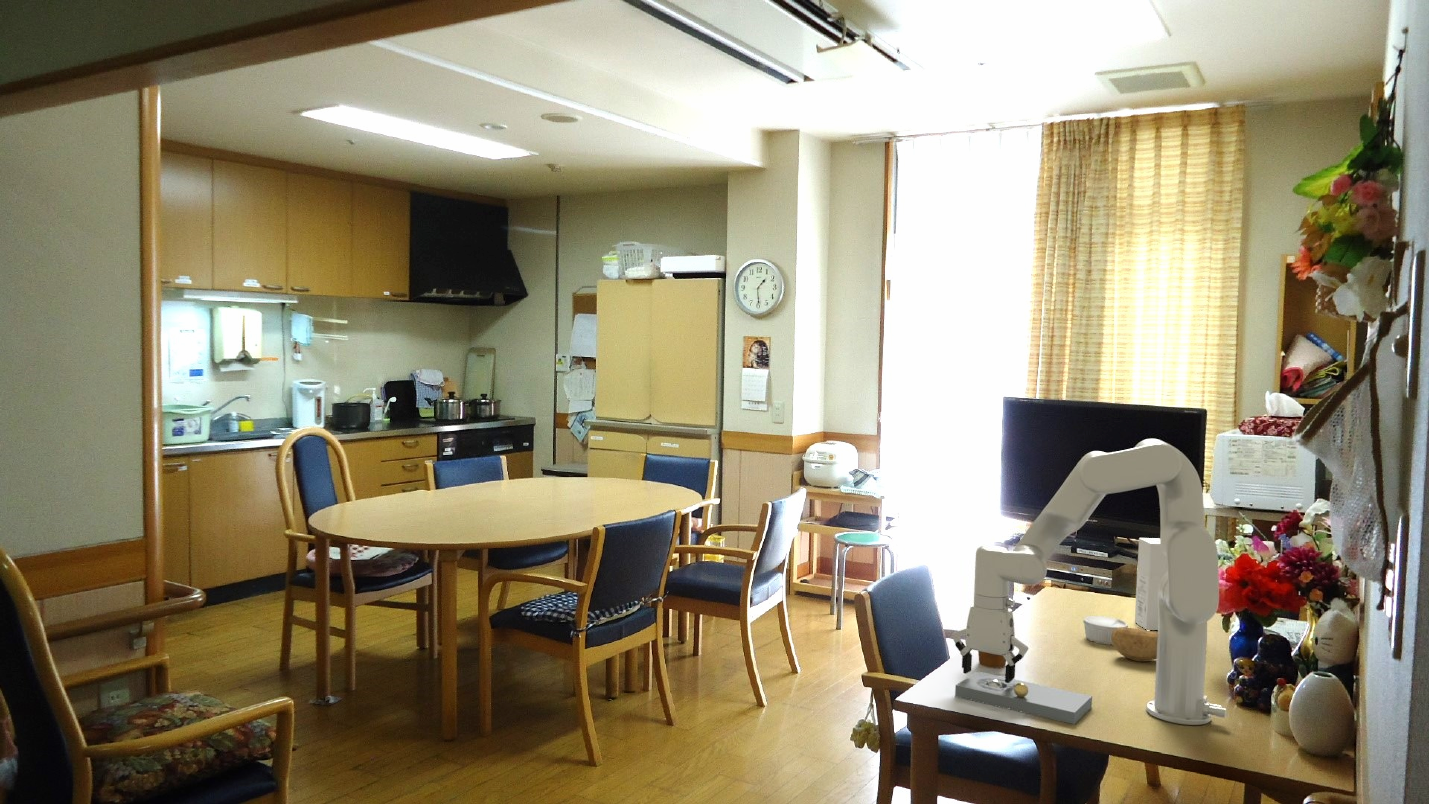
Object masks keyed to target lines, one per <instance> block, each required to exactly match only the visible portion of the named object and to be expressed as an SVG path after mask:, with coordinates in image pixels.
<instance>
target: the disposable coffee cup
mask: <svg viewBox="0 0 1429 804" xmlns="http://www.w3.org/2000/svg"><path fill="white" fill-rule="evenodd" d="M977 653H978V654H977V655H978V663H979V665H981V666H983V667H986V668H990V669H991V668H992V669H1002V668H1006V665H1007V664H1006V663H1007V661H1006V660H1005V658H1004V657H1003V655H996V654H991V653H986V652H982V651H977Z"/></svg>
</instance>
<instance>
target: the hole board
mask: <svg viewBox="0 0 1429 804" xmlns="http://www.w3.org/2000/svg"><path fill="white" fill-rule="evenodd" d="M993 679H995V680H998V681H1000V682H1001V683H1002V686H1003V688H994V687H990V686H988V685H987V684H988V682H989V681H990V680H993ZM1018 683H1023V684H1025V685H1026V686H1027V687H1028V694H1027V695H1026V696H1025V697H1018V696H1017V695H1016V694H1015V693H1014V687H1015V685H1016V684H1018ZM954 688H955V690H954V696H955V697H956V698H960V697H961V698H960V699H964V700H965V699H966V700H969V699H972V700H971V701H973V700H975V701H974V702H977V701H979V702H978V703H981V702H984V703H983V704H986V703H987V704H986V705H990V704H991V705H990V706H994V705H997V706H996V707H998V706H1000V708H1003V707H1004V708H1003V709H1007V708H1010V709H1009V710H1011V709H1013V711H1015V710H1016V711H1017V712H1020V711H1022V712H1021V713H1024V712H1025V714H1028V715H1032V714H1034V715H1033V716H1037V715H1038V716H1037V717H1041V716H1042V717H1041V718H1046V719H1050V720H1054V719H1055V720H1054V721H1059V722H1062V723H1067V724H1071V725H1076V723H1077V722H1078V721H1079V720H1081V719H1082V718H1083V717H1084V716H1085V714H1087V712H1089V711H1090V710H1091V709H1092V706H1093V705H1092V704H1093V695H1089V694H1085V693H1079V692H1074V691H1070V690H1066V689H1060V688H1056V687H1052V686H1047V685H1043V684H1038V683H1034V682H1028V681H1025V680H1024V681H1023V680H1020V679H1015V678H1014V679H1013V680H1012V681H1011V682H1009V683H1006V682H1005V676H1001V675H996V674H993V673H987V672H982V671H975V672H974V673H972V674H970V675H969V676H968V677H966V678H964V679H963V680H961V681H960V682H958V683H957V684H955V687H954Z"/></svg>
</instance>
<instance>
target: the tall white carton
mask: <svg viewBox="0 0 1429 804" xmlns="http://www.w3.org/2000/svg"><path fill="white" fill-rule="evenodd" d="M1137 552H1138V553H1137V556H1138V558H1137V569H1136V589H1135V610H1134V612H1135V613H1134V623H1135V624H1136V623H1137V624H1136V625H1138V626H1139V627H1141V628H1142V627H1143V628H1142V629H1143V630H1145V629H1146V630H1158V587H1159V583H1160V581H1161V579H1162V577H1163V576H1164V575H1165V574H1166V573H1167V572H1168V564H1167V556H1166V555H1165V554H1164V552H1163V551H1162V549H1161V545H1160V538H1155V537H1154V538H1153V537H1152V538H1151V537H1150V538H1149V537H1139V538H1138V551H1137Z"/></svg>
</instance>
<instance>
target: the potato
mask: <svg viewBox="0 0 1429 804" xmlns="http://www.w3.org/2000/svg"><path fill="white" fill-rule="evenodd" d="M1111 641H1112V643H1113V645H1112V646H1113V647H1114V648H1115V650H1116V651H1117V652H1118V653H1119V654H1120V655H1122V656H1123V657H1125V658H1126V659H1130V660H1132V661H1134V662H1135V661H1136V662H1149V661H1153V660H1157V641H1158V631H1147V630H1145V629H1144V628H1135V627H1133V628H1132V627H1129V626H1128V627H1119V628H1117V629H1115V630H1114V631H1113V633H1112V635H1111Z"/></svg>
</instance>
